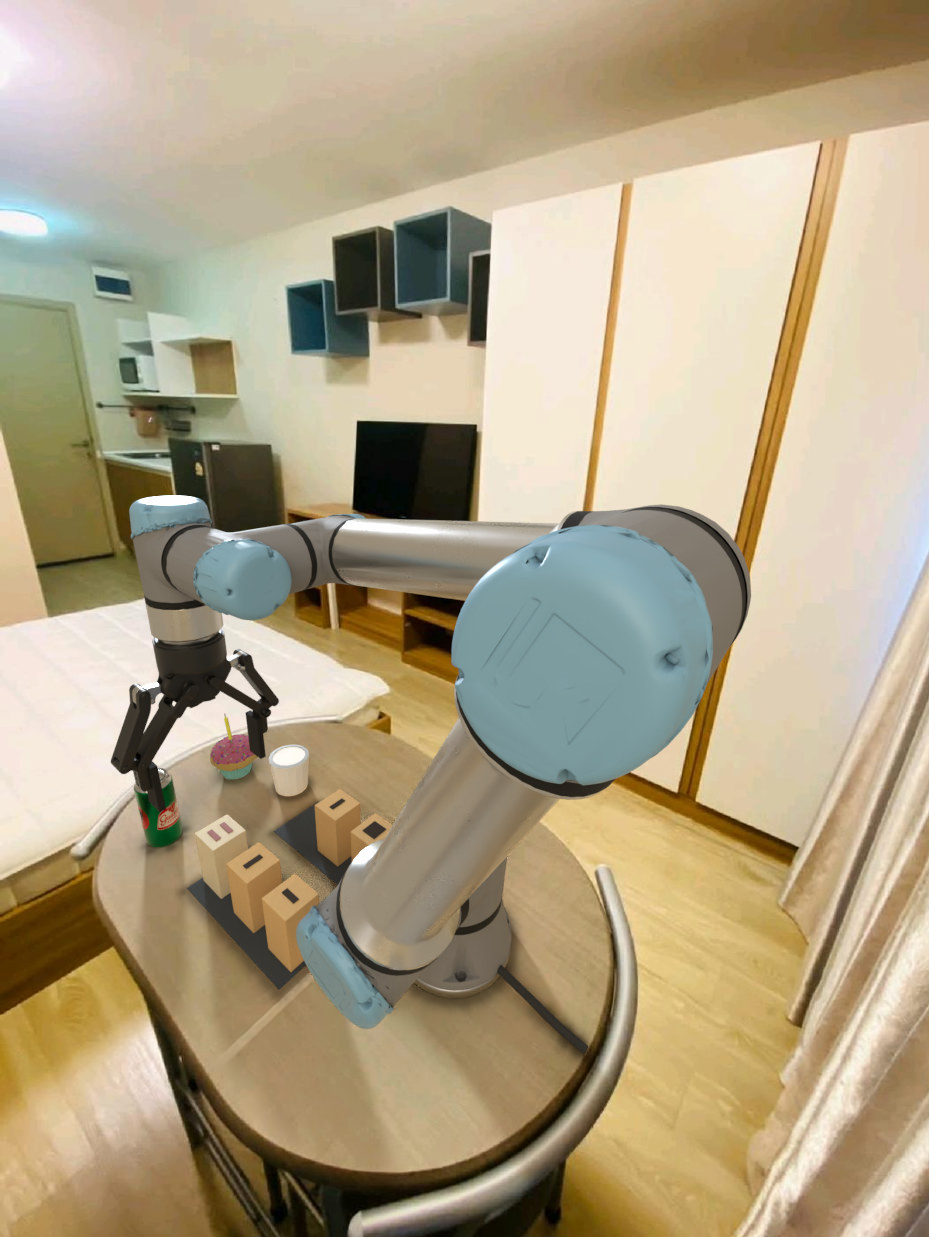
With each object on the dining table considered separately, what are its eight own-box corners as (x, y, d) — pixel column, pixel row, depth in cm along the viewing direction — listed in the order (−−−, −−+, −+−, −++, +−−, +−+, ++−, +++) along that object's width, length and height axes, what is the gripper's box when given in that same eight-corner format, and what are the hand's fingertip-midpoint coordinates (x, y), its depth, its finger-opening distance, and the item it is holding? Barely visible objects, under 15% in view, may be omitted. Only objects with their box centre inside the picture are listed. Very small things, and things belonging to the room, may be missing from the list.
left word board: (338, 937, 69) (335, 884, 65) (279, 991, 62) (272, 937, 58) (245, 851, 81) (238, 803, 77) (187, 889, 74) (176, 839, 70)
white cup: (290, 805, 90) (286, 773, 88) (263, 790, 94) (259, 758, 91) (319, 783, 96) (317, 752, 93) (293, 769, 99) (290, 739, 96)
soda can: (167, 853, 80) (154, 790, 75) (139, 846, 81) (123, 784, 76) (190, 829, 84) (178, 769, 80) (162, 823, 85) (149, 763, 81)
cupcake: (204, 773, 97) (194, 718, 92) (246, 752, 103) (239, 699, 99) (229, 794, 92) (220, 737, 88) (271, 770, 99) (265, 716, 94)
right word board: (410, 870, 79) (411, 821, 76) (366, 910, 73) (365, 860, 69) (318, 803, 91) (315, 759, 88) (273, 833, 85) (268, 786, 81)
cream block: (252, 877, 76) (245, 829, 73) (221, 899, 73) (212, 850, 69) (234, 860, 79) (227, 813, 75) (203, 880, 75) (194, 832, 72)
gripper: (265, 597, 72) (277, 726, 80) (48, 656, 53) (92, 816, 62) (298, 612, 68) (307, 746, 76) (76, 682, 49) (119, 849, 57)
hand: (211, 778), depth 69 cm, fingers open, 13 cm apart
